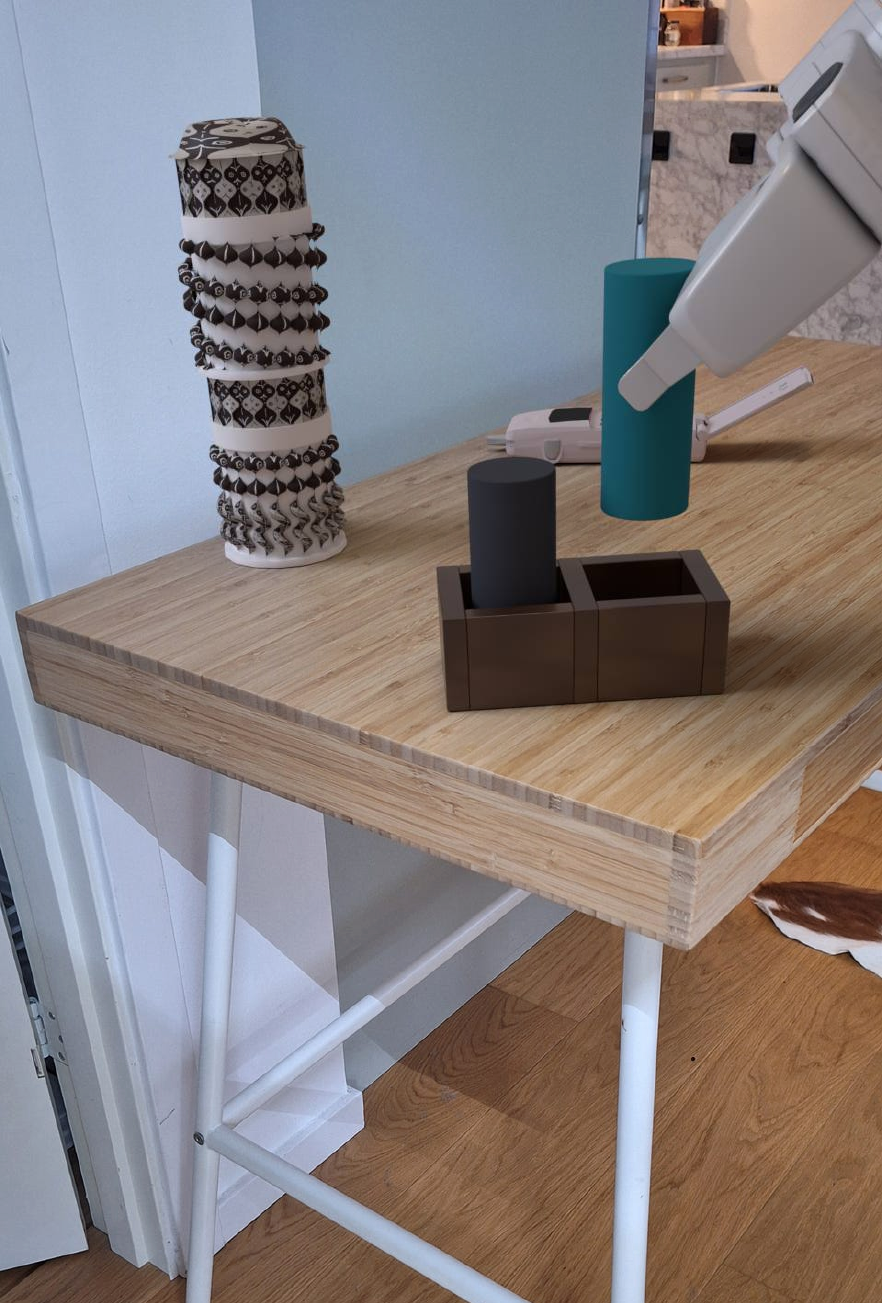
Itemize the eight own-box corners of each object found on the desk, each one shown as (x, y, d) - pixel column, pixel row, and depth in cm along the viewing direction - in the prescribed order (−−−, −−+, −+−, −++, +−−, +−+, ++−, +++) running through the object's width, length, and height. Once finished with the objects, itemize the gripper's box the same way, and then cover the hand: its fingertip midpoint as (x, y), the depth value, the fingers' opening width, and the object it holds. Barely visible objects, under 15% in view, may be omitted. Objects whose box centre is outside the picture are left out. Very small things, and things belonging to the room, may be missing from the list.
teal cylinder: (679, 491, 70) (691, 254, 63) (696, 518, 66) (710, 270, 60) (594, 497, 70) (597, 260, 63) (607, 524, 66) (611, 276, 60)
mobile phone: (816, 381, 99) (477, 386, 102) (807, 464, 102) (479, 466, 106) (810, 364, 103) (487, 369, 107) (801, 444, 107) (489, 446, 110)
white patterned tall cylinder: (370, 555, 90) (334, 117, 76) (236, 579, 88) (171, 131, 73) (332, 518, 97) (291, 110, 83) (206, 538, 95) (142, 123, 80)
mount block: (694, 636, 76) (700, 548, 73) (724, 693, 70) (731, 600, 67) (440, 652, 76) (436, 566, 73) (447, 712, 70) (442, 619, 67)
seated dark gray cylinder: (551, 657, 75) (550, 453, 68) (560, 690, 71) (560, 478, 65) (472, 662, 75) (464, 459, 68) (477, 696, 71) (469, 484, 65)
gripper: (828, 62, 64) (618, 291, 72) (826, 93, 48) (555, 384, 56) (912, 167, 66) (698, 380, 74) (937, 231, 50) (659, 495, 57)
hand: (636, 382), depth 65 cm, fingers closed on teal cylinder, 4 cm apart
